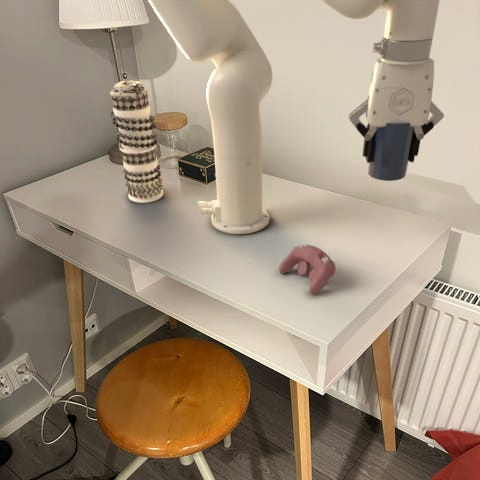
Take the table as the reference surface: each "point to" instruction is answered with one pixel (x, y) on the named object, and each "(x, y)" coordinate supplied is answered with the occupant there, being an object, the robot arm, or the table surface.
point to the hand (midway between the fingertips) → (389, 159)
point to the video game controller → (308, 256)
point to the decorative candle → (136, 141)
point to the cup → (391, 151)
